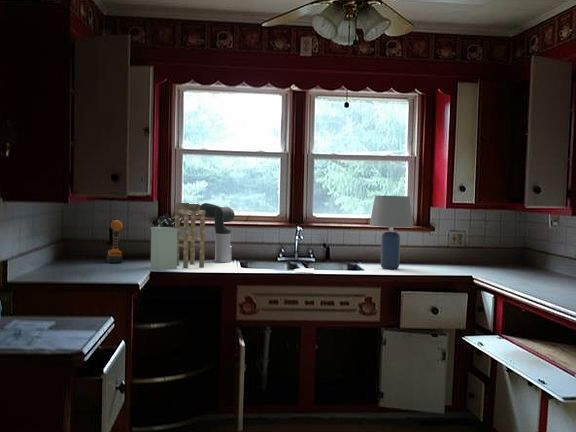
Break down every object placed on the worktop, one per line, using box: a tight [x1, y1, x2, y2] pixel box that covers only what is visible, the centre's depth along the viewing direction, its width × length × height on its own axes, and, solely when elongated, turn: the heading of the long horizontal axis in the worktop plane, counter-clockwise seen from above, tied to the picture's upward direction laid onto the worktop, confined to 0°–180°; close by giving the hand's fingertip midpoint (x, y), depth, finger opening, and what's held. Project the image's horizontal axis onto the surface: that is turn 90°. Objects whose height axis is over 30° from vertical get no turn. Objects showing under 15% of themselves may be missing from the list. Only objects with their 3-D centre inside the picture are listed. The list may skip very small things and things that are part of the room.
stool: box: [174, 208, 206, 269], centre depth 329 cm, size 12×16×32 cm
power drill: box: [106, 218, 123, 264], centre depth 342 cm, size 22×7×25 cm, turn 25°
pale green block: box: [150, 226, 178, 270], centre depth 321 cm, size 11×15×22 cm
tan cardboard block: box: [175, 202, 201, 211], centre depth 332 cm, size 4×28×4 cm, turn 32°
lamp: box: [369, 195, 414, 271], centre depth 341 cm, size 25×25×43 cm
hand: (174, 215), depth 348 cm, fingers open, 8 cm apart
